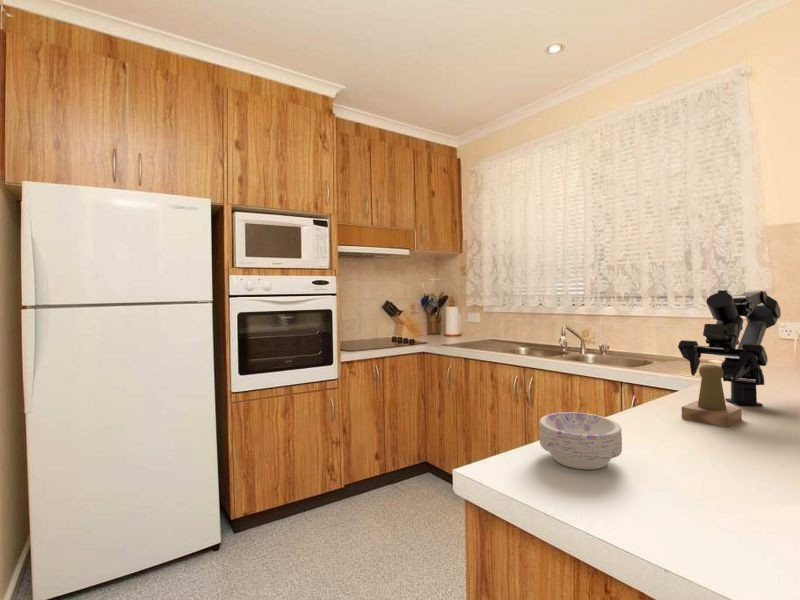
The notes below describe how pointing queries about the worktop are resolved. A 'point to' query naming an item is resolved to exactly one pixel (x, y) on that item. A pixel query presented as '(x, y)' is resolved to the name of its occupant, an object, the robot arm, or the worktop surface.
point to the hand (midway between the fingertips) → (712, 377)
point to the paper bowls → (580, 439)
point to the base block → (712, 415)
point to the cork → (711, 388)
